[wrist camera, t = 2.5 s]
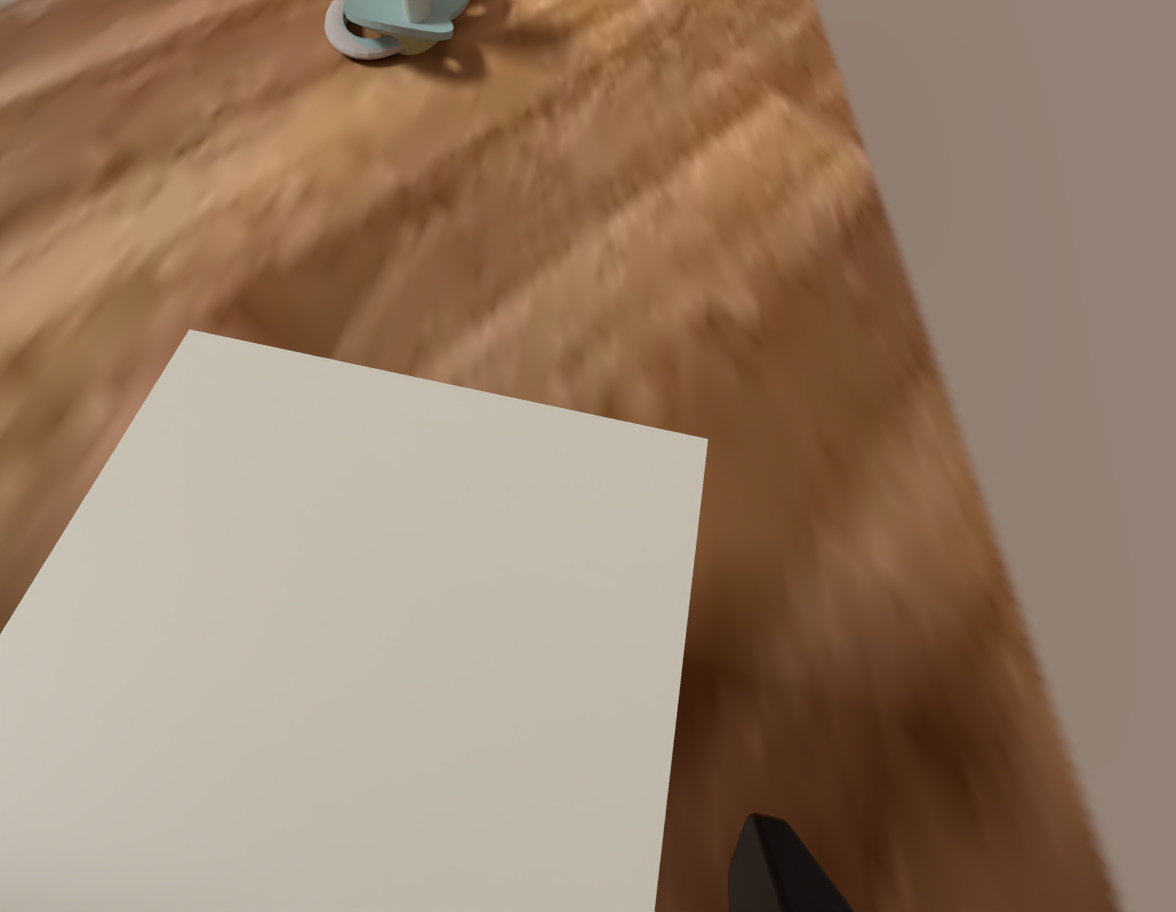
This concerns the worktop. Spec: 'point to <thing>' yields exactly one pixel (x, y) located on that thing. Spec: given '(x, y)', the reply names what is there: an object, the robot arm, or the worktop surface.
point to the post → (351, 652)
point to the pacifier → (391, 25)
